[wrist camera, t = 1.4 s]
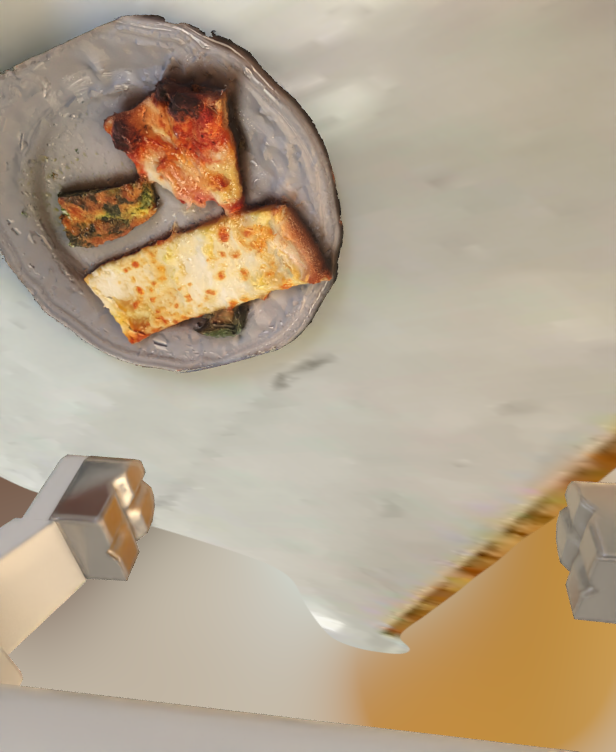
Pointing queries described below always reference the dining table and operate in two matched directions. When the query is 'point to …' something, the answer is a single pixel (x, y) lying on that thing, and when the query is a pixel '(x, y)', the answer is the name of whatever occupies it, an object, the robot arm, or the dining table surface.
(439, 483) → the dining table surface
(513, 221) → the dining table surface
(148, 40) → the food plate
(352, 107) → the dining table surface
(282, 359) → the dining table surface
